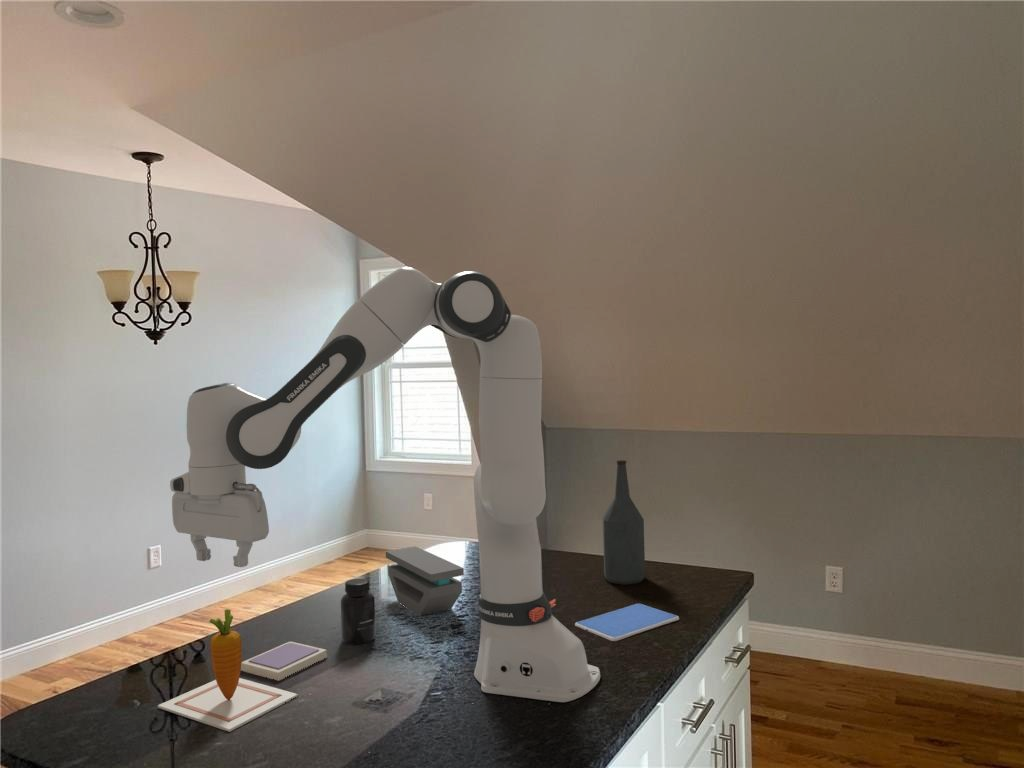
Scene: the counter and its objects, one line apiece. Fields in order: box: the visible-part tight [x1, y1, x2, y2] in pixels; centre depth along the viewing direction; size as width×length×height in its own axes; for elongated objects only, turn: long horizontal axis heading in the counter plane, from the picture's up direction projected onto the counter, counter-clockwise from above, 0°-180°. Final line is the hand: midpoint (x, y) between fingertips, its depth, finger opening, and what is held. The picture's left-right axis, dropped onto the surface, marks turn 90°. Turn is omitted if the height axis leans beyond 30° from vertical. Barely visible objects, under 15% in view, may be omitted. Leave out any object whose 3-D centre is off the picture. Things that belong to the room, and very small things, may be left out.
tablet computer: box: [574, 603, 680, 642], centre depth 163 cm, size 19×13×1 cm, turn 126°
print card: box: [157, 677, 299, 732], centre depth 130 cm, size 18×14×1 cm
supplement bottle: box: [340, 578, 376, 646], centre depth 157 cm, size 7×7×12 cm
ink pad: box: [240, 641, 328, 682], centre depth 146 cm, size 10×12×2 cm
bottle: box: [602, 459, 646, 585], centre depth 193 cm, size 10×10×30 cm
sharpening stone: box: [385, 545, 465, 617], centre depth 178 cm, size 25×8×11 cm, turn 32°
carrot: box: [209, 608, 243, 700], centre depth 130 cm, size 5×5×15 cm
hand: (222, 563), depth 130 cm, fingers open, 8 cm apart
